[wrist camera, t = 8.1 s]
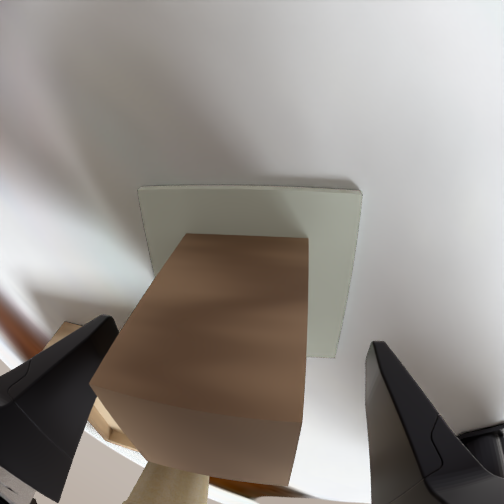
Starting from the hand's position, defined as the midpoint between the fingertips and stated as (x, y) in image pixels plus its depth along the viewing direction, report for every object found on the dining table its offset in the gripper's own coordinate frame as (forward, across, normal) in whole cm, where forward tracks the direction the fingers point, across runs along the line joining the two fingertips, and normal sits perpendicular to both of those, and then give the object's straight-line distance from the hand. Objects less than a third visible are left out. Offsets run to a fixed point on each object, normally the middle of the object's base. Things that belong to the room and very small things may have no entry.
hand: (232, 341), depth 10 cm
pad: (+3, 0, 0) cm, 3 cm away
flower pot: (+4, +8, +24) cm, 26 cm away
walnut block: (+3, 0, 0) cm, 3 cm away
